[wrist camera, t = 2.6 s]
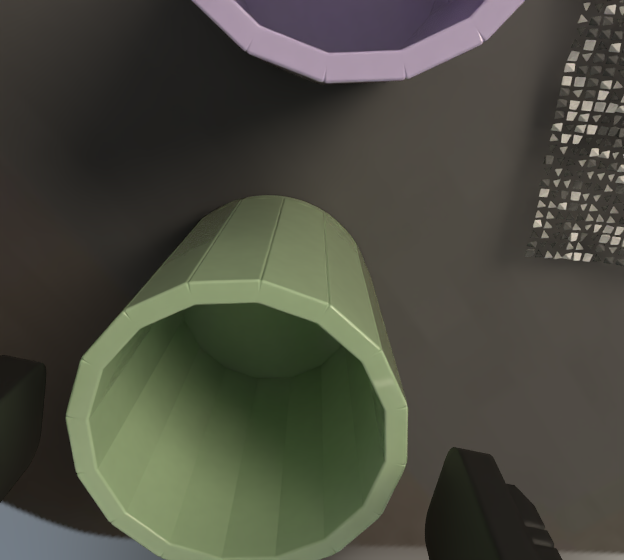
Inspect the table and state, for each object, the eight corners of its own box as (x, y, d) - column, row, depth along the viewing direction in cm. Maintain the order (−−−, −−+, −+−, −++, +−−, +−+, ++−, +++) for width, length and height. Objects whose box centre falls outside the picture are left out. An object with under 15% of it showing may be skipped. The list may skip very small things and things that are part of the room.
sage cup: (135, 245, 19) (-1, 365, 11) (319, 160, 18) (322, 221, 10) (228, 407, 21) (171, 614, 13) (399, 338, 20) (456, 511, 12)
